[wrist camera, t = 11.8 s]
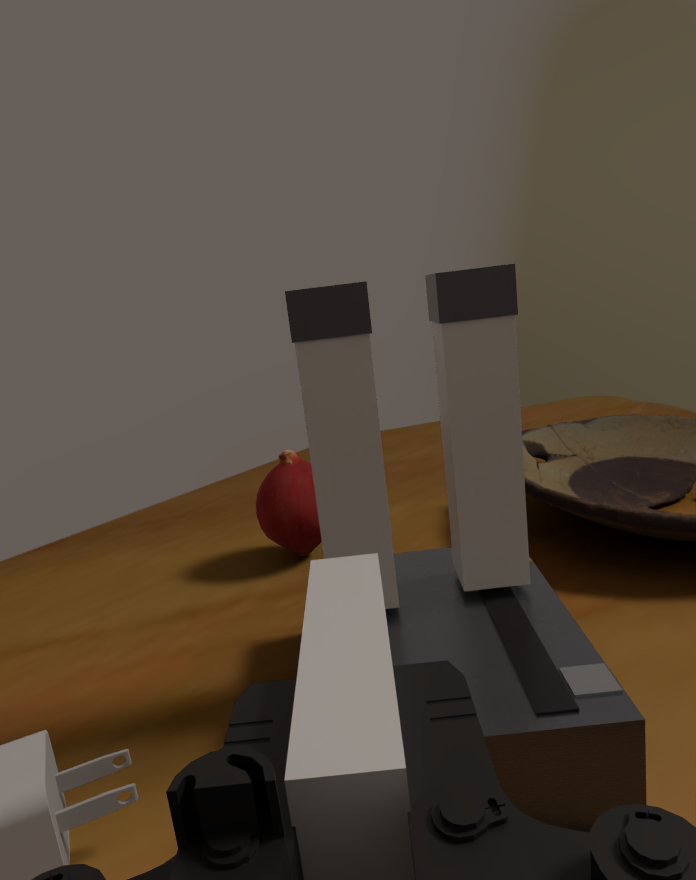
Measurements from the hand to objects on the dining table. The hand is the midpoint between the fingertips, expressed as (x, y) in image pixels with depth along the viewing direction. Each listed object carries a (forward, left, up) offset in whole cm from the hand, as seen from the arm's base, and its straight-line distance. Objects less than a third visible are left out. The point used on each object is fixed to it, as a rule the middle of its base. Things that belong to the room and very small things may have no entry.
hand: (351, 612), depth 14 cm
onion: (+14, +27, -11) cm, 33 cm away
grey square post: (+8, +12, -7) cm, 16 cm away
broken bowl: (+35, +9, -11) cm, 38 cm away
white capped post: (+13, +9, -7) cm, 17 cm away
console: (+9, +8, -11) cm, 16 cm away
